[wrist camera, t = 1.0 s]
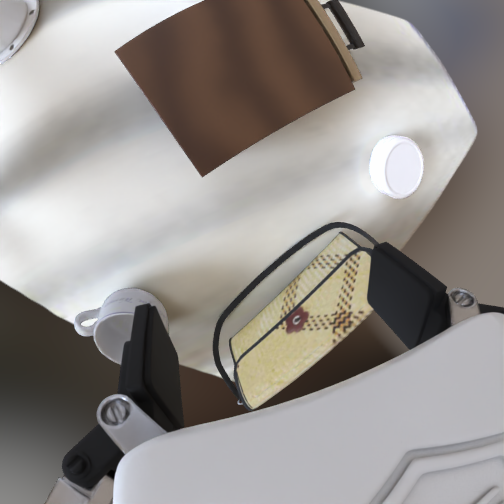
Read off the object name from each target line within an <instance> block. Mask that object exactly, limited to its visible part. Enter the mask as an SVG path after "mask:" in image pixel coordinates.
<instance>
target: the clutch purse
mask: <svg viewBox="0 0 504 504" xmlns="http://www.w3.org/2000/svg"><path fill="white" fill-rule="evenodd" d="M340 227H341V228H348V229H351V230H354V231H356V232H358V233H360V234H361V235H363V236H364V237H366V238H367V239H368V240H369V241H370V242H372V243H373V244H374V245H377V244H379V243H378V242H377V241H376V240H375V239H374V238H373V237H371V236H370V235H369V234H367V233H366V232H365V231H363V230H362V229H360V228H358V227H356V226H354V225H352V224H348V223H344V222H334V223H330V224H327V225H325V226H323V227H321V228H320V229H318V230H316V231H315V232H313V233H311V234H310V235H308V236H307V237H306V238H304V239H303V240H301V241H300V242H299V243H297V244H296V245H295V246H293V247H292V248H291V249H289V250H288V251H287V252H286V253H285V254H283V255H282V256H281V257H280V258H279V259H277V260H276V261H275V262H274V263H273V264H272V265H270V266H269V267H268V268H267V269H266V270H265V271H263V272H262V273H261V274H260V275H259V276H258V277H257V278H256V279H255V280H254V281H253V282H252V283H251V284H250V285H249V286H248V287H247V288H246V289H245V290H244V291H243V292H242V293H241V294H240V295H239V296H238V297H237V298H236V299H235V300H234V301H233V302H232V303H231V305H230V306H229V307H228V308H227V309H226V310H225V311H224V313H223V314H222V315H221V316H220V318H219V320H218V322H217V324H216V328H215V332H214V338H213V355H214V360H215V364H216V367H217V369H218V371H219V372H220V374H221V376H222V378H223V379H224V381H225V382H226V384H227V385H228V387H229V388H230V390H231V391H232V393H233V394H234V395H235V396H236V397H237V399H238V404H239V401H242V403H241V404H243V405H244V406H245V408H246V409H247V410H249V411H253V410H254V409H256V408H257V407H258V406H260V405H261V404H263V403H264V402H266V401H267V400H268V399H270V398H271V397H273V396H274V395H275V394H277V393H278V392H279V391H281V390H282V389H283V388H285V387H286V386H287V385H289V384H290V383H291V382H293V381H294V380H295V379H296V378H298V377H299V376H300V375H302V374H303V373H304V372H305V371H307V370H308V369H309V368H310V367H311V366H313V365H314V364H315V363H316V362H318V361H319V360H320V359H321V358H322V357H323V356H325V355H326V354H327V353H328V352H329V351H331V350H332V349H333V348H334V347H335V346H336V345H337V344H339V343H340V342H341V341H342V340H343V339H344V338H345V337H346V336H347V335H348V334H350V333H351V332H352V331H353V330H354V329H355V328H356V327H357V326H358V325H359V324H360V323H361V322H362V321H363V320H364V319H365V318H366V317H368V316H369V315H370V314H371V313H372V312H373V311H374V309H373V308H372V307H371V306H370V305H369V304H368V301H367V291H368V283H369V273H370V262H371V251H372V249H371V248H365V247H361V246H360V245H359V244H357V243H356V242H355V241H354V240H352V239H351V238H350V237H348V236H347V235H346V234H344V233H343V232H339V235H338V236H337V237H336V238H335V239H334V240H333V241H332V242H331V243H330V244H329V245H328V246H327V247H326V248H325V249H324V250H323V251H322V252H321V253H320V254H319V255H318V256H317V257H316V258H315V259H314V260H313V261H312V262H311V263H310V264H309V265H308V266H307V267H306V268H305V269H304V270H303V271H302V272H301V273H300V274H299V275H298V276H297V277H296V278H295V279H294V280H293V281H292V282H291V283H290V284H289V285H288V286H287V287H286V288H285V289H284V290H283V291H282V292H281V293H280V294H279V295H278V296H277V297H276V298H275V299H274V300H273V301H272V302H271V303H269V304H268V305H267V306H266V307H265V308H264V309H263V310H262V311H261V312H260V313H259V314H258V315H257V316H256V317H255V318H254V319H253V320H251V321H250V322H249V323H248V324H247V325H246V326H245V327H244V328H243V329H242V330H241V331H240V332H238V333H237V334H236V335H235V336H234V337H233V338H231V339H230V340H229V346H230V351H231V355H232V358H233V362H234V379H235V383H236V386H237V389H236V387H235V386H234V384H233V383H232V381H231V380H230V378H229V377H228V375H227V373H226V372H225V370H224V368H223V366H222V364H221V361H220V357H219V349H218V346H219V336H220V331H221V327H222V324H223V322H224V321H225V319H226V318H227V317H228V315H229V314H230V313H231V312H232V311H233V310H234V308H235V307H236V306H237V305H238V304H239V303H240V302H241V301H242V300H243V299H244V298H245V297H246V296H247V295H248V294H249V293H250V292H251V291H252V290H253V289H254V288H255V287H256V286H257V285H258V284H259V283H260V282H261V281H262V280H263V279H264V278H265V277H266V276H268V275H269V274H270V273H271V272H272V271H273V270H275V269H276V268H277V267H278V266H279V265H280V264H282V263H283V262H284V261H285V260H286V259H288V258H289V257H290V256H291V255H293V254H294V253H295V252H296V251H298V250H299V249H300V248H302V247H303V246H304V245H306V244H307V243H309V242H310V241H312V240H313V239H315V238H316V237H318V236H319V235H321V234H323V233H324V232H326V231H328V230H331V229H333V228H340Z"/></svg>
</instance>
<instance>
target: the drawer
mask: <svg viewBox="0 0 504 504" xmlns="http://www.w3.org/2000/svg"><path fill="white" fill-rule="evenodd" d="M304 2H305V3H306V5H307V6H308V7H309V9H310V10H311V12H312V13H313V15H314V16H315V18H316V19H317V21H318V23H319V24H320V26H321V27H322V29H323V31H324V32H325V34H326V36H327V37H328V39H329V41H330V42H331V44H332V46H333V48H334V49H335V51H336V53H337V55H338V56H339V58H340V60H341V62H342V64H343V66H344V68H345V70H346V72H347V74H348V76H349V78H350V80H351V82H356V81H358V80H360V79H362V76H361V74H360V72H359V70H358V68H357V66H356V64H355V62H354V60H353V58H352V56H351V54H350V52H349V51H348V50H350V49H358V48H361V47H364V46H365V45H364V43H363V41H362V39H361V37H360V36H359V34H358V32H357V30H356V29H355V27H354V25H353V23H352V22H351V20H350V18H349V17H348V15H347V13H346V12H345V10H344V9H343V7H342V6H341V4H340V3H339V1H338V0H331V1H328V2H327V3H326V4H322V5H321V4H320V3H319V1H318V0H304ZM327 8H329V9H330V11H331V12H332V14H333V15H334V17H335V19H336V20H337V22H338V23H339V25H340V27H341V28H342V30H343V32H344V34H345V35H346V37H347V39H348V41H349V42H350V45H347V46H346V45H345V43H344V42H343V40H342V38H341V36H340V35H339V33H338V31H337V30H336V28H335V26H334V25H333V23H332V21H331V20H330V18H329V17H328V15H327V13H326V12H325V10H324V9H327Z"/></svg>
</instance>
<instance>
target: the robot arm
mask: <svg viewBox="0 0 504 504" xmlns="http://www.w3.org/2000/svg"><path fill="white" fill-rule="evenodd" d="M38 13H39V1H38V0H0V64H2V63H3V62H5V61H6V60H8V59H9V58H10V57H11V56H12V55H13V54H14V53H15V52H16V51H17V50H18V49H19V48H20V47H21V45H22V44H23V43H24V42H25V40H26V39H27V37H28V36H29V34H30V32H31V31H32V29H33V27H34V25H35V22H36V20H37V17H38ZM446 289H447V287H446V286H445V285H444V284H443V283H441V282H440V281H439V280H438V279H436V278H435V277H434V276H432V275H431V274H430V273H429V272H427V271H426V270H425V269H423V268H422V267H421V266H419V265H418V264H417V263H415V262H414V261H413V260H411V259H410V258H409V257H407V256H406V255H404V254H403V253H402V252H400V251H399V250H398V249H396V248H395V247H393V246H392V245H390V244H389V243H387V242H384V243H381V244H377V245H375V246H374V249H373V250H372V251H371V262H370V273H369V283H368V291H367V301H368V304H369V305H370V306H371V307H372V308H373V309H374V310H375V311H376V313H377V314H378V315H379V316H380V317H381V318H382V319H383V320H384V321H385V323H386V324H387V325H388V326H389V327H390V328H391V329H392V330H393V331H394V333H395V334H397V336H398V337H399V338H400V339H401V340H402V342H403V343H404V344H405V345H406V346H407V347H408V348H409V349H410V350H409V351H407V352H405V353H403V354H401V355H400V356H398V357H396V358H394V359H392V360H390V361H387V362H386V363H383V364H381V365H379V366H377V367H375V368H373V369H371V370H368V371H366V372H364V373H362V374H359V375H357V376H355V377H353V378H350V379H348V380H345V381H343V382H340V383H338V384H335V385H333V386H330V387H328V388H325V389H323V390H320V391H317V392H314V393H311V394H309V395H306V396H303V397H300V398H297V399H294V400H291V401H288V402H285V403H282V404H278V405H275V406H272V407H269V408H265V409H262V410H258V411H255V412H251V413H247V414H243V415H239V416H235V417H231V418H227V419H223V420H219V421H214V422H210V423H205V424H201V425H197V426H192V427H188V428H184V419H183V410H182V400H181V388H180V376H179V361H178V355H177V352H176V350H175V348H174V346H173V344H172V341H171V339H170V337H169V335H168V333H167V330H166V328H165V326H164V324H163V321H162V319H161V317H160V314H159V312H158V310H157V308H156V306H151V304H150V303H147V304H142V305H138V306H136V307H135V312H134V318H133V325H132V331H131V338H130V341H126V342H125V343H124V347H123V354H122V361H121V369H120V377H119V386H118V394H115V395H112V396H109V397H107V398H106V399H104V400H103V402H102V403H100V405H99V407H98V410H97V420H98V422H99V424H98V425H97V426H96V427H95V428H94V429H93V430H92V431H90V433H88V434H87V435H86V436H85V437H84V438H83V439H82V440H81V441H80V442H79V443H78V444H77V445H76V446H74V447H73V448H72V449H71V450H70V451H69V452H68V453H67V454H66V455H65V457H64V459H63V463H62V469H63V473H64V476H63V478H62V479H61V478H58V480H57V481H56V484H55V485H54V487H53V489H52V490H51V492H50V494H49V496H48V498H47V500H46V502H45V503H44V504H110V502H111V500H112V499H113V504H504V308H503V307H497V306H491V305H484V304H478V302H477V299H476V297H475V295H474V294H473V293H472V292H470V291H469V290H466V289H463V288H454V289H452V290H451V291H450V292H449V293H448V294H446V293H445V292H446ZM180 428H184V429H180Z"/></svg>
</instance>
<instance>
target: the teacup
mask: <svg viewBox="0 0 504 504" xmlns="http://www.w3.org/2000/svg"><path fill="white" fill-rule="evenodd" d="M147 303H150V304H151V306H156V308H157V310H158V312H159V314H160V317H161V319H162V321H163V324H164V326H165V328H166V330H167V333H168V335H169V324H168V317H167V313H166V310H165V308H164V306H163V305H162V303H161V302H160V301H159V300H158V299H157V298H156V297H155V296H154V295H152V294H150V293H149V292H146V291H144V290H141V289H135V288H126V289H121V290H118V291H116V292H114V293H112V294H111V295H110V296H109V297H108V298H107V299H106V300H105V302H104V303H103V305H102V307H100V308H98V309H95V310H89V311H84V312H81V313H80V314H78V315H77V316H76V318H75V321H74V325H75V329H76V331H77V332H78V333H79V334H80V335H83V336H92V335H94V340H95V343H96V345H97V347H98V349H99V350H100V351H101V353H102V354H104V355H105V356H106V357H107V358H109V359H111V360H112V361H114V362H116V363H118V364H121V361H122V354H123V347H124V343H125V342H126V341H130V338H131V331H132V325H133V318H134V312H135V307H136V306H138V305H142V304H147ZM93 318H98V320H97V321H96V322H95V323H94V324H93V325H92V326H89V327H84V326H82V325H81V323H82V322H83V321H85V320H88V319H93Z"/></svg>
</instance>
